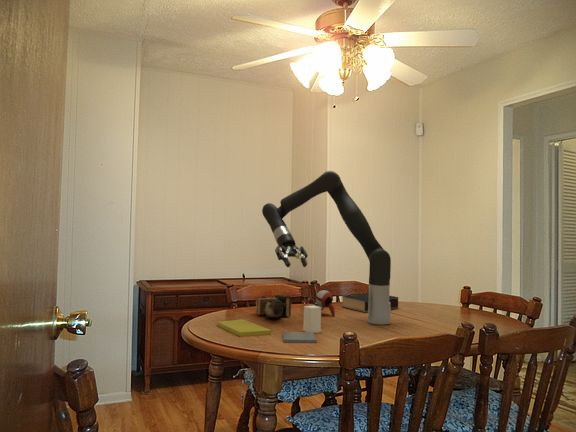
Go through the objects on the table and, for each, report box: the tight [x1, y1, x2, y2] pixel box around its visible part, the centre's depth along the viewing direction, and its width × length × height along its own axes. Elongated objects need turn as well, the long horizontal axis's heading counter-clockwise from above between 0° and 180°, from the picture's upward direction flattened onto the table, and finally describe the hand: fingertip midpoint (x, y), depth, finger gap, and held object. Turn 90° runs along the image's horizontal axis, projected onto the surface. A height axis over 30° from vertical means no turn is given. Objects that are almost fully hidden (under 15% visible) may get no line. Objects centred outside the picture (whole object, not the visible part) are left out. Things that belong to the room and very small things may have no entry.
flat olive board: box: [216, 318, 272, 338], centre depth 181 cm, size 12×2×24 cm
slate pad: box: [282, 331, 318, 344], centre depth 169 cm, size 12×12×1 cm
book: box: [341, 293, 399, 313], centre depth 239 cm, size 17×25×7 cm
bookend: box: [255, 294, 292, 320], centre depth 207 cm, size 14×11×24 cm
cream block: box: [302, 305, 322, 334], centre depth 181 cm, size 5×5×10 cm
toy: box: [306, 289, 335, 317], centre depth 219 cm, size 14×15×14 cm
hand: (297, 266), depth 191 cm, fingers open, 8 cm apart
